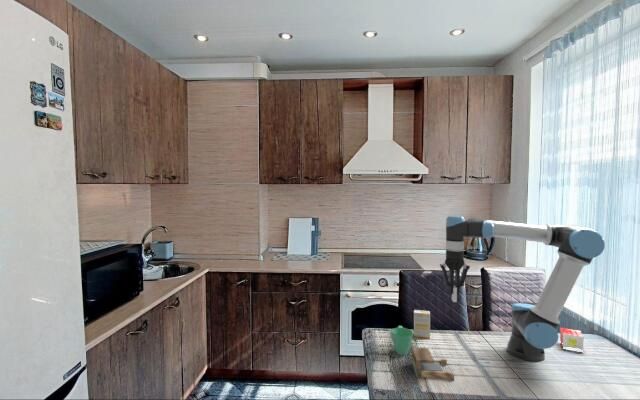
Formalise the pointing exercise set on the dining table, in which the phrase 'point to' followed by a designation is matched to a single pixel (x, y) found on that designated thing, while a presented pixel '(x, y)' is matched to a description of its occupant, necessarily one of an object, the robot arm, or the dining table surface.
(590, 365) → the dining table surface
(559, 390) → the dining table surface
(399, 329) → the green pitcher
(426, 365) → the tile
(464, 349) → the dining table surface
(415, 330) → the supplement box
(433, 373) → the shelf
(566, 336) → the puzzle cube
